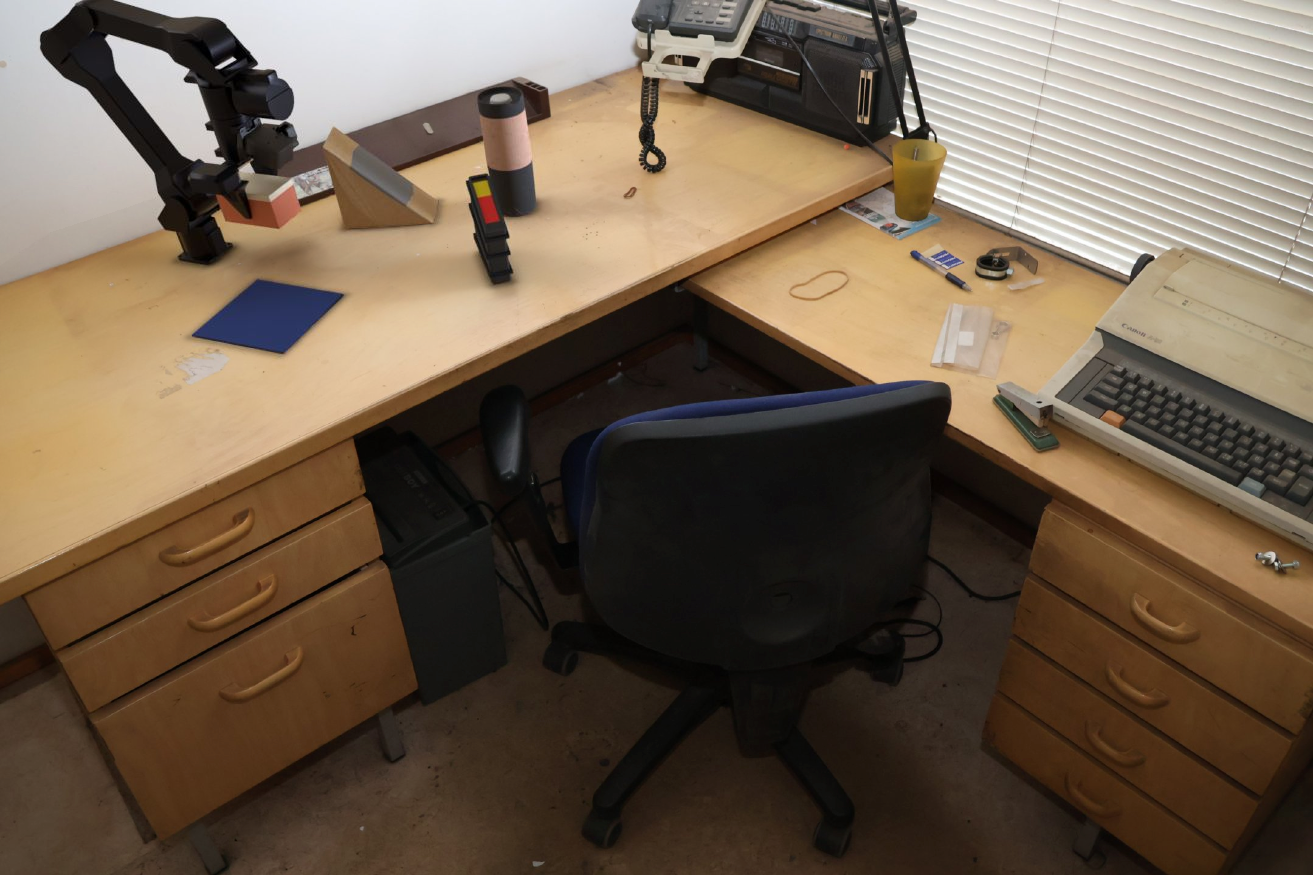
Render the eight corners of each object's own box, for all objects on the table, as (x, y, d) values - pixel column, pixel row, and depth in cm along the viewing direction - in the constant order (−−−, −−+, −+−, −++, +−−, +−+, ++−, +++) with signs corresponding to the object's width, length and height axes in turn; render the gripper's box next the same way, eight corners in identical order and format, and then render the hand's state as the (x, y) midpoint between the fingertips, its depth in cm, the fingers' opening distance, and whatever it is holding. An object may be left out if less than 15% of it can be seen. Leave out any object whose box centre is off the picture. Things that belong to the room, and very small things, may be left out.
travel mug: (495, 198, 178) (477, 87, 165) (538, 195, 178) (523, 84, 165) (493, 219, 172) (474, 106, 159) (538, 216, 173) (523, 102, 159)
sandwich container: (434, 224, 172) (416, 141, 162) (344, 229, 172) (321, 147, 162) (439, 200, 178) (423, 119, 169) (353, 205, 178) (331, 124, 168)
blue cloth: (192, 336, 149) (191, 334, 149) (257, 280, 160) (257, 279, 160) (282, 353, 145) (282, 352, 144) (343, 295, 156) (343, 293, 156)
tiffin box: (224, 221, 157) (212, 188, 153) (248, 203, 161) (237, 171, 158) (279, 229, 154) (268, 196, 150) (302, 210, 158) (292, 178, 155)
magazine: (493, 230, 166) (489, 170, 152) (514, 296, 161) (512, 240, 147) (471, 235, 165) (465, 175, 151) (491, 301, 160) (487, 245, 147)
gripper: (235, 145, 138) (268, 245, 148) (311, 92, 151) (338, 188, 161) (169, 137, 141) (206, 236, 151) (250, 86, 154) (279, 180, 164)
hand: (261, 209), depth 157 cm, fingers closed on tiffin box, 6 cm apart
